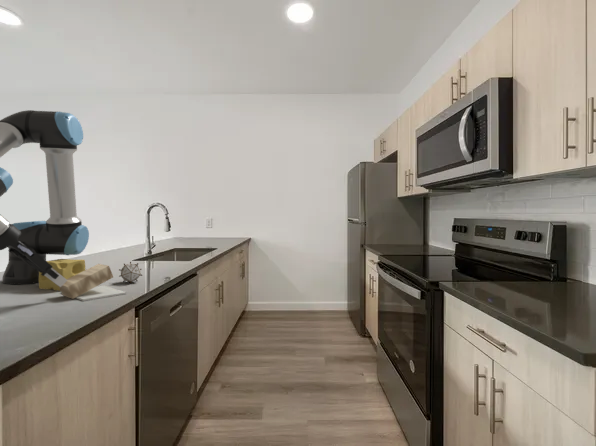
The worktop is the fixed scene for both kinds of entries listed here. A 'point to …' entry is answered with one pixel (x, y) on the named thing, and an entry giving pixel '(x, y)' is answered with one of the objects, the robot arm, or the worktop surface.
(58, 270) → the cheese
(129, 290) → the worktop surface
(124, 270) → the game die
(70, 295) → the maple block
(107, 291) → the rubber mat
